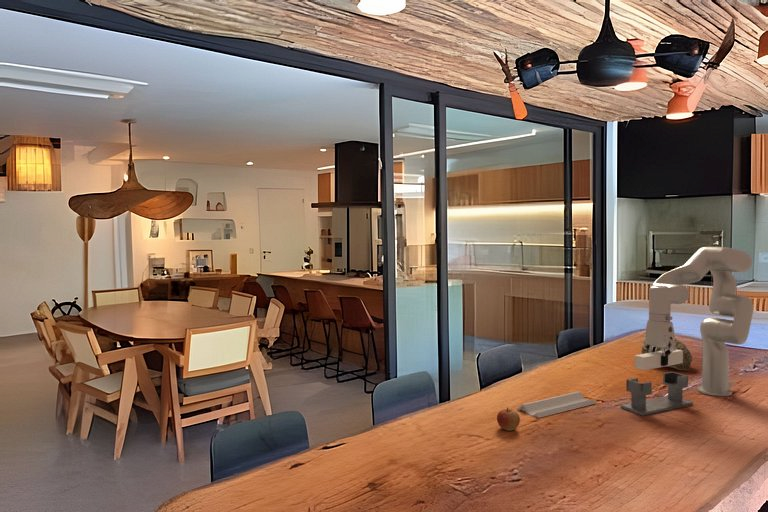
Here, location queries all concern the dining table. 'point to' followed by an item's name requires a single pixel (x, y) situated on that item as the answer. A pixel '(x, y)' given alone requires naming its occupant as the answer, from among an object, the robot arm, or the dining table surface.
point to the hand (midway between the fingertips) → (659, 363)
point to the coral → (680, 346)
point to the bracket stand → (661, 403)
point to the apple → (508, 419)
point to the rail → (657, 359)
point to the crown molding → (556, 405)
